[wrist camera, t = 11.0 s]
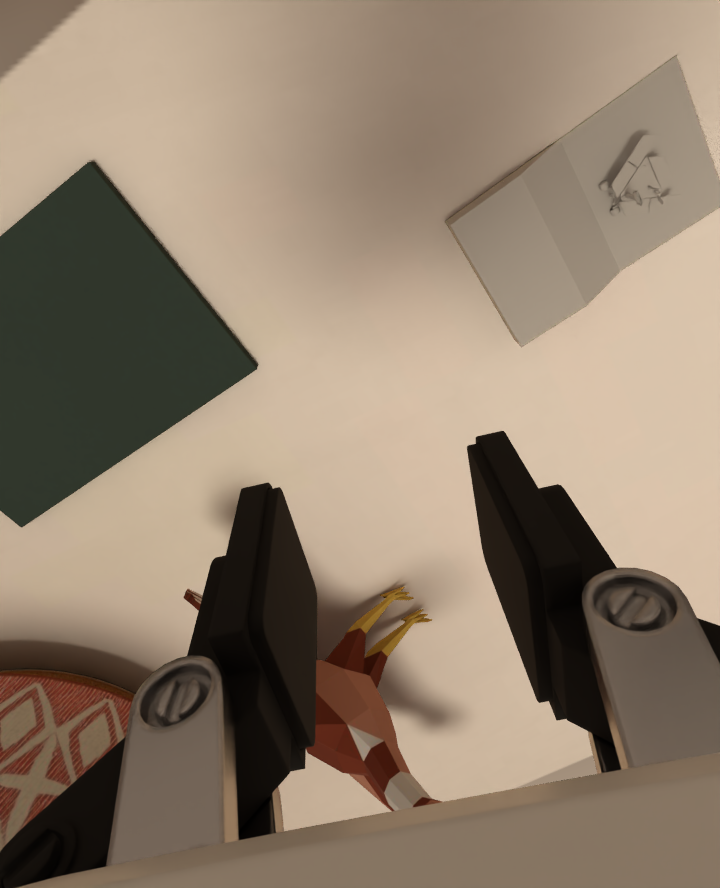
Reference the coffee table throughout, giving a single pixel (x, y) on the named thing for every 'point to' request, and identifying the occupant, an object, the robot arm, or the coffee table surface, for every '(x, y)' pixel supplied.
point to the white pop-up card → (590, 205)
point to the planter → (52, 737)
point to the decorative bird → (361, 711)
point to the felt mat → (95, 344)
